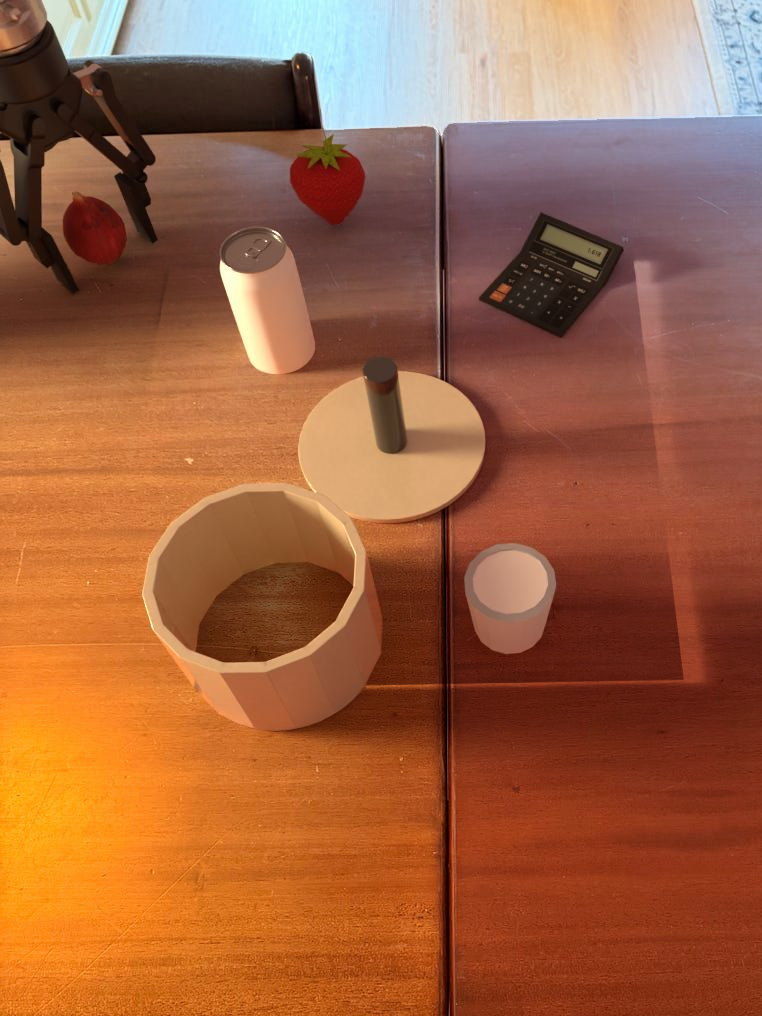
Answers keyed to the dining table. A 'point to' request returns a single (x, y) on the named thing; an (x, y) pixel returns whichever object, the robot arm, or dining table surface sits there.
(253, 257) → the can
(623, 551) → the dining table surface
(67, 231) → the onion
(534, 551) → the shot glass
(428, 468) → the pot lid
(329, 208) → the strawberry
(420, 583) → the dining table surface
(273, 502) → the pot
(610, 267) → the calculator
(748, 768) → the dining table surface
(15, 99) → the robot arm
